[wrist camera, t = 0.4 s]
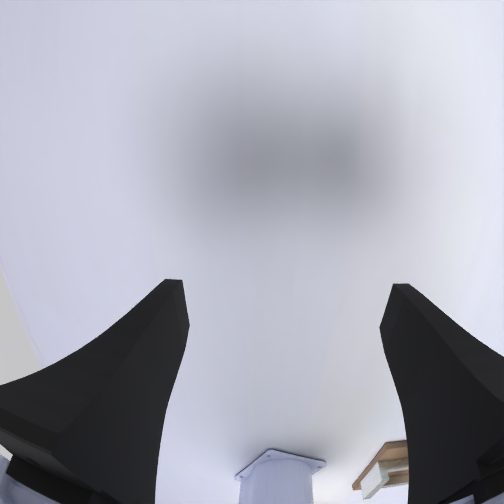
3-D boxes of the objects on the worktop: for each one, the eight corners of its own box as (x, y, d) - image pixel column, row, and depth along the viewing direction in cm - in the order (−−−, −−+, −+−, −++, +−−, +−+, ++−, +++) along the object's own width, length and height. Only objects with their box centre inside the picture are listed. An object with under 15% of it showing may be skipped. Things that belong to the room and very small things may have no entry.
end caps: (360, 482, 31) (365, 516, 25) (377, 461, 29) (385, 498, 23) (475, 459, 31) (485, 484, 25) (495, 436, 28) (508, 463, 23)
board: (352, 485, 33) (352, 490, 32) (385, 442, 28) (387, 449, 28) (464, 464, 33) (466, 468, 32) (503, 420, 28) (506, 424, 27)
